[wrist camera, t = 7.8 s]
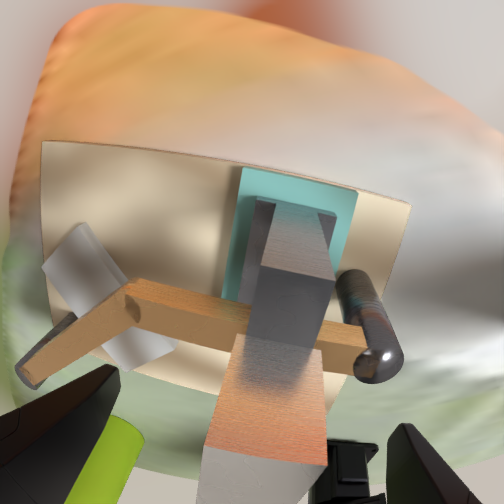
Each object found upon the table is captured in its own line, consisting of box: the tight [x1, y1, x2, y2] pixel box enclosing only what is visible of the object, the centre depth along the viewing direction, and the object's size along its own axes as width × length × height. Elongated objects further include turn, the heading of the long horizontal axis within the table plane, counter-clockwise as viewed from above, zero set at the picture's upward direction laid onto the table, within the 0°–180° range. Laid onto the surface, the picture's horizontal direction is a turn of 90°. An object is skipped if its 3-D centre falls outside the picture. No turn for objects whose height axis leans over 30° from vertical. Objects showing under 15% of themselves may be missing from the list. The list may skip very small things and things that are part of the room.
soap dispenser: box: [64, 415, 144, 504], centre depth 20 cm, size 6×7×20 cm
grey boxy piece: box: [196, 196, 337, 504], centre depth 12 cm, size 4×8×12 cm, turn 170°
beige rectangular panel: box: [41, 140, 412, 415], centre depth 20 cm, size 17×24×2 cm
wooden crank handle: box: [15, 269, 404, 390], centre depth 16 cm, size 6×23×7 cm, turn 104°
